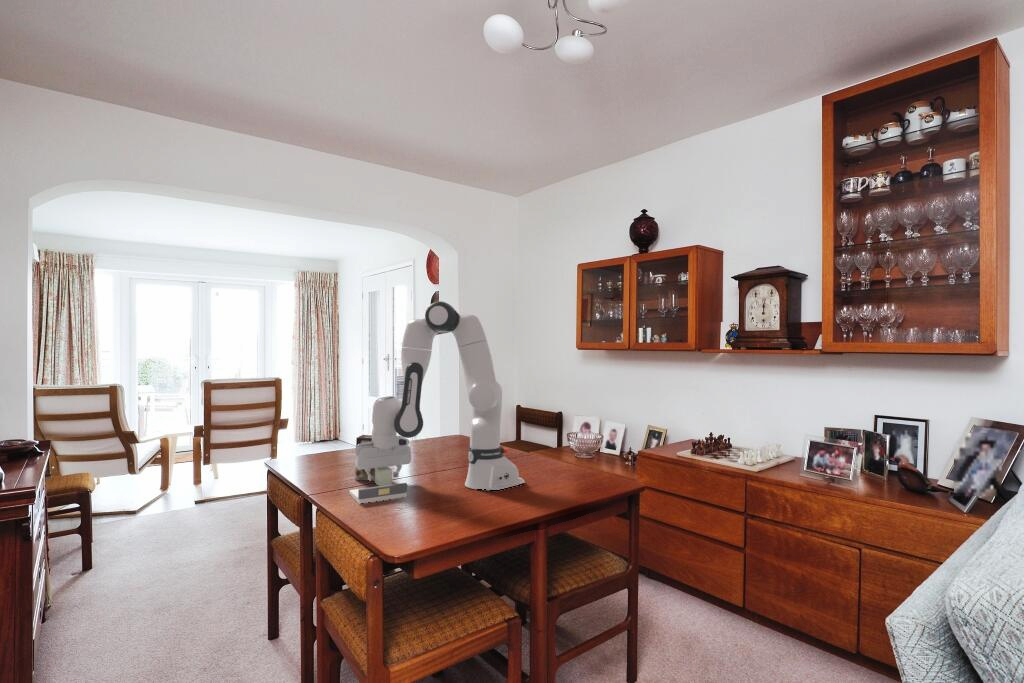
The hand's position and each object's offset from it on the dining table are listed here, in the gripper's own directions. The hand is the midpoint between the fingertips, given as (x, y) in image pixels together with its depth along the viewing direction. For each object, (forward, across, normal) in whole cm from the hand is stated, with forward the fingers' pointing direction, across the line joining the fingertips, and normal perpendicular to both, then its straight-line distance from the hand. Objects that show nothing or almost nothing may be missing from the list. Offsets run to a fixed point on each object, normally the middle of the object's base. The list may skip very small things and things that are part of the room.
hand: (383, 478), depth 186 cm
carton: (+2, 0, 0) cm, 2 cm away
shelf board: (+2, -6, -12) cm, 14 cm away
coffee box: (+2, -2, +10) cm, 11 cm away
